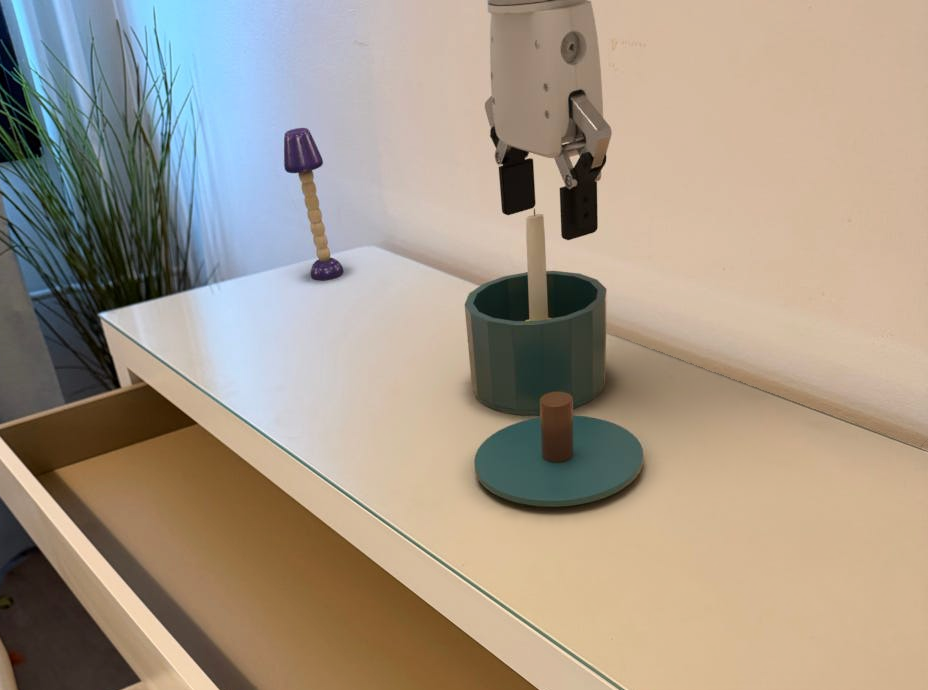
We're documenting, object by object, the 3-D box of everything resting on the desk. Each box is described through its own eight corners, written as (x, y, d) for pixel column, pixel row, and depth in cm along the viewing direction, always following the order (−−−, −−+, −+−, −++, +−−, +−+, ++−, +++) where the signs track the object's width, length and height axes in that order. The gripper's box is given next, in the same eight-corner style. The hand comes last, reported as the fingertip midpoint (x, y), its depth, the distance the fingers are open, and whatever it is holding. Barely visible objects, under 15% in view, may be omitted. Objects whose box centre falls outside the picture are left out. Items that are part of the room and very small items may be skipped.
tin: (514, 348, 96) (509, 265, 90) (627, 367, 90) (629, 278, 85) (448, 401, 88) (439, 313, 83) (567, 425, 83) (565, 332, 77)
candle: (505, 376, 90) (495, 206, 80) (555, 364, 91) (551, 194, 81) (526, 397, 86) (517, 222, 76) (577, 384, 87) (575, 209, 77)
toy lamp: (310, 283, 117) (281, 137, 106) (303, 272, 121) (274, 130, 110) (347, 275, 118) (322, 129, 107) (338, 265, 121) (313, 122, 111)
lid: (526, 416, 85) (522, 351, 81) (669, 445, 78) (673, 375, 74) (443, 490, 76) (435, 422, 72) (597, 529, 70) (597, 456, 66)
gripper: (649, -25, 64) (644, 234, 75) (520, -30, 76) (533, 193, 87) (556, -5, 62) (566, 258, 73) (439, -13, 74) (462, 213, 85)
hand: (548, 222), depth 80 cm, fingers open, 9 cm apart
